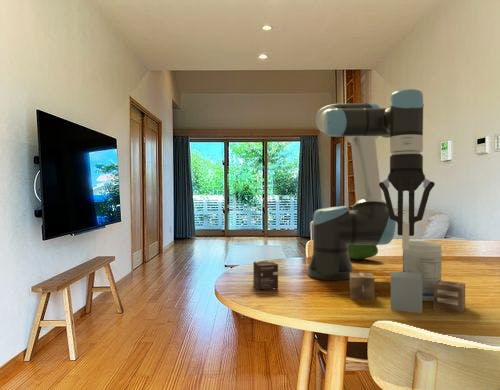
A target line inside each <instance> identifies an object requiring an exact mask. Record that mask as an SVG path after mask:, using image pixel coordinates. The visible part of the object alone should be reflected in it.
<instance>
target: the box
mask: <svg viewBox="0 0 500 390" xmlns="http://www.w3.org/2000/svg"><path fill="white" fill-rule="evenodd" d="M252 279H253V280H252V281H253V284H252V285H253V286H254V285H255V286H256V287H257V288H258V289H259V291H261V290H260V289H271V290H274V289H273V288H278V289H279V264H278V263H276V262H274V261H272V260H271V261H265V260H264V261H253V278H252ZM255 286H254V287H255ZM256 287H255V288H256ZM257 288H256V289H257ZM258 289H257V290H258Z"/></svg>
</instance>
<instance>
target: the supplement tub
mask: <svg viewBox="0 0 500 390" xmlns="http://www.w3.org/2000/svg"><path fill="white" fill-rule="evenodd" d="M442 253H443V251H442V244H441V243H439V242H435V241H434V242H433V241H427V240H425V241H423V240H409V250H403V249H402V272H409V273H421V277H422V302H434V284H435V283H436V282H437V281H438V280H442V260H443V259H442V258H443V257H442V256H443V255H442Z"/></svg>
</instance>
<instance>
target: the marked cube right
mask: <svg viewBox="0 0 500 390" xmlns="http://www.w3.org/2000/svg"><path fill="white" fill-rule="evenodd" d="M437 309H438V311H443V310H444V311H443V312H449V313H454V312H455V314H461V315H462V314H463V313H464V311H463V310H465V309H466V283H463V282H458V281H451V280H450V281H448V280H443V279H441V280H438V281H437V282H436V283H435V284H434V301H433V310H437Z"/></svg>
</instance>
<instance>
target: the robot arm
mask: <svg viewBox="0 0 500 390" xmlns="http://www.w3.org/2000/svg"><path fill="white" fill-rule="evenodd" d="M424 107H425V105H424V94H423V92H422V90H420V89H413V88H409V89H401V90H396V91H394V92H392V93H391V95H390V99H389V107H386V108H385V107H380V106H379V105H378V104H377V103H374V102H373V103H370V102H363V103H360V102H359V103H358V102H357V103H333V104H329V105H328V104H327V105H325V106H324V107H321V108H320V109H318V111H317V112H316V114H315V116H314V123H315V124H314V125H315V127H316V128H317V129H318V130H319V131H320V132H321V133H324V134H325V135H326V136H327V137H335V138H338V137H339V138H340V137H345V138H346V141H347V142H348V143H349V144H350V145H351V155H352V156H351V157H352V169H353V178H354V179H353V180H354V181H353V182H354V192H355V203H354V204H353V205H352V206H351V207H352V210H351V209H350V208H349V207H348V206H347V205H341V206H331V207H324V208H319V209H316V210H315V211H314V212H313V218H312V219H313V220H312V226H313V229H312V230H313V233H312V235H313V236H312V241H313V242H312V243H313V244H312V245H313V246H312V255H311V258H310V261H309V264H308V267H307V275H308V277H310V278H313V279H317V280H323V281H324V280H326V281H346V280H350V272H353V273H355V272H354V268H353V264H352V261H351V258H349V255H348V245H375V246H377V247H378V246H381V245H382V246H383V245H386V246H387V245H388V244H390V243H391V242H392V241H393V238H394V236H395V232H396V227H397V235H398V236H401V237H402V240H401V241H402V243H401V246H402V248H401V249H402V251H403V250H409V241H410V237H413V236H414V235H415V223H416V222H420V221H422V220H423V219H424V214H425V210H426V206H427V203H428V200H429V196H430V192H431V191H432V189H433V188H434V186H435V184H436V183H435V182H434V181H431V180H430V179H428V178H426V175H425V173H424V155H423V154H421V153H422V152H423V151H424V138H423V137H424ZM379 137H382V138H386V139H387V138H389V153H390V154H391V155H390V156H389V173H388V176H387V178H386V179H384V180H383V181H380V180H381V178H380V170H379V161H378V153H377V144H376V140H377V139H378V138H379ZM422 183H423V185H422ZM390 184H391V186H393V188H394V189H395V190H396V191H397V214H395V211H394V207H393V203H392V199H391V195H390V191H389V188H390ZM421 185H422V187H423V192H422V196H421V198H420V199H421V200H420V203H419V207H418V210H417V213H416V215H415V191H416V190H418V189H419V187H420V186H421ZM406 191H407V192H408V221H404V192H406ZM382 192H383V196H384V199H385V201H384V200H383V198H382ZM396 225H397V226H396Z"/></svg>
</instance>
